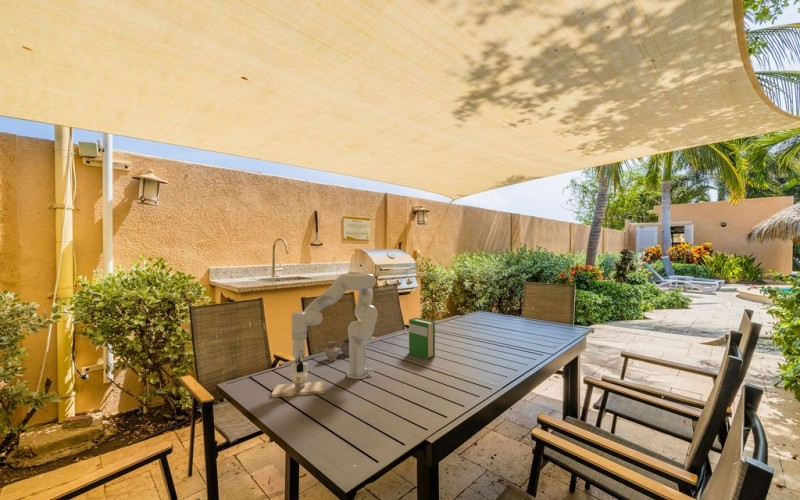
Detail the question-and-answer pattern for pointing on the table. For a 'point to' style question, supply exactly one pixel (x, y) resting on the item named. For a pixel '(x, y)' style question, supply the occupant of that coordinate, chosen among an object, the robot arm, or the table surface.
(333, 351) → the pottery
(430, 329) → the hardback book
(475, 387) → the table surface
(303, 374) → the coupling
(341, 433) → the table surface
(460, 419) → the table surface
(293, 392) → the post base
